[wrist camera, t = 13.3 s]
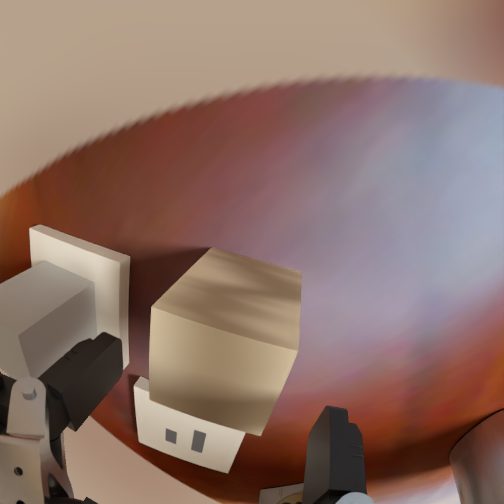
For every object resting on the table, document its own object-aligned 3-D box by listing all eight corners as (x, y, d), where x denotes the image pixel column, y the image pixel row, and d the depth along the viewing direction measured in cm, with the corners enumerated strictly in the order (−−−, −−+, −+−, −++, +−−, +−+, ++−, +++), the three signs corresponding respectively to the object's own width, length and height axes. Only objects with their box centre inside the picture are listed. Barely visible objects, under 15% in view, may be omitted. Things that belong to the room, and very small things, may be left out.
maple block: (301, 271, 15) (298, 351, 9) (277, 345, 17) (260, 435, 10) (211, 247, 16) (151, 306, 9) (198, 322, 17) (149, 399, 11)
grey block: (94, 282, 16) (18, 335, 10) (98, 342, 18) (39, 400, 12) (45, 260, 17) (-26, 298, 10) (52, 317, 19) (-7, 361, 12)
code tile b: (130, 256, 17) (119, 262, 16) (129, 362, 20) (121, 371, 19) (40, 224, 18) (29, 228, 16) (49, 321, 21) (40, 327, 19)
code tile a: (251, 414, 19) (248, 425, 18) (230, 464, 22) (227, 473, 21) (140, 376, 20) (133, 385, 19) (143, 433, 23) (138, 442, 22)
